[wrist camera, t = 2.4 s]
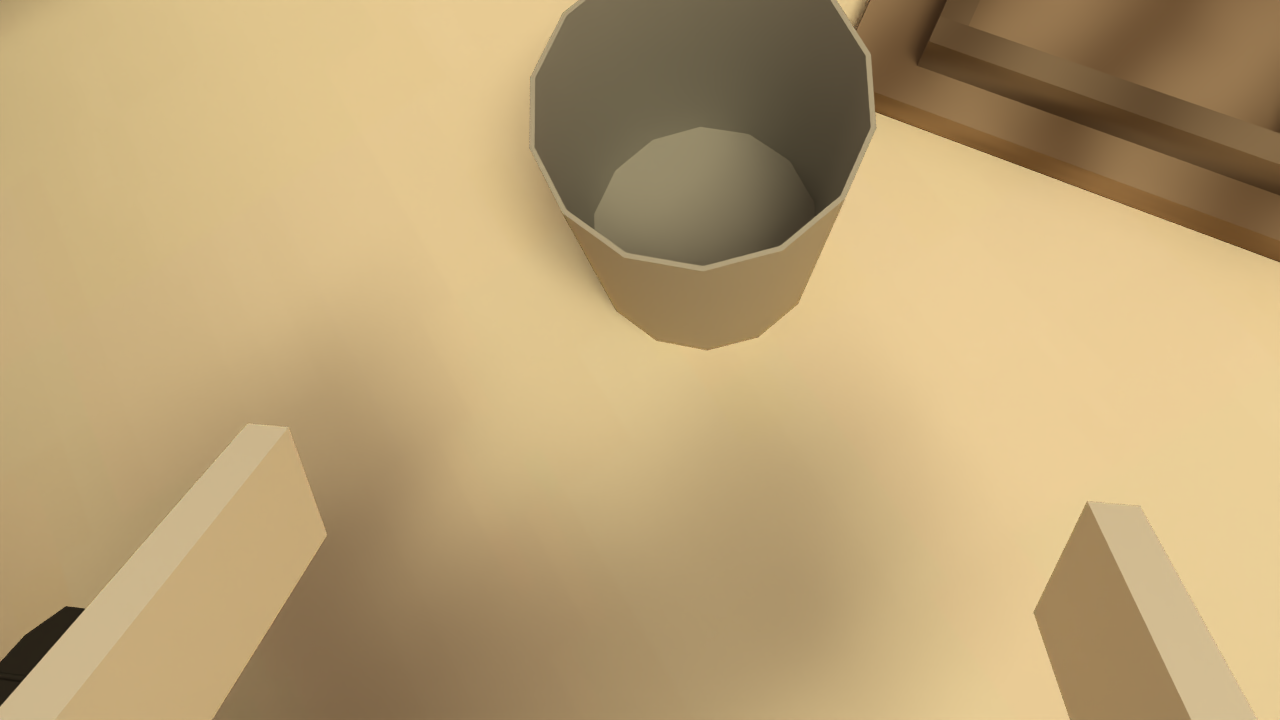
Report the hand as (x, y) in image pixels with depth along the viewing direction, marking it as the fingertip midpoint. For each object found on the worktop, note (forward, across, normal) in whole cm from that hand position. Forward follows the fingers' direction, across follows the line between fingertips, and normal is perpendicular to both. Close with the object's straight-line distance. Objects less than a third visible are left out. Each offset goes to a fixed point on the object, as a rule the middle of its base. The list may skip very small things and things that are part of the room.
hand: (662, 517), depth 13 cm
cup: (+17, 0, -3) cm, 17 cm away
